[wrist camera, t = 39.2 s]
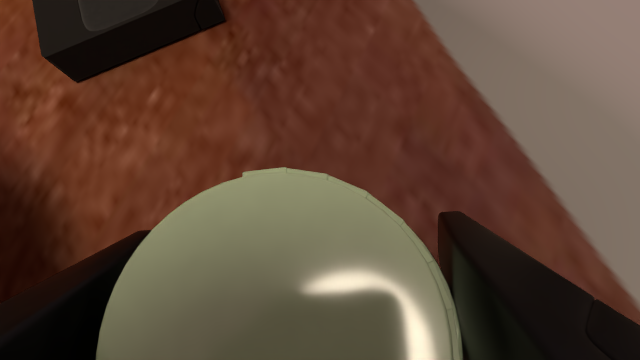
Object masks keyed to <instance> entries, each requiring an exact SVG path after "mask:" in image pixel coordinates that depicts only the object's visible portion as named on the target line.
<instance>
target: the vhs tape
mask: <svg viewBox="0 0 640 360" xmlns="http://www.w3.org/2000/svg"><path fill="white" fill-rule="evenodd" d="M32 1H33V7H34V13H35V19H36V25H37V31H38V37H39V43H40V49H41V54H42V56H43V57H44V58H45V59H47V60H48V61H49V62H50V63H52V64H53V65H54V66H56V67H57V68H58V69H59V70H61V71H62V72H63V73H65V74H66V75H67V76H68V77H70V78H71V79H72V80H74V81H79V80H81V79H84V78H86V77H89V76H91V75H93V74H96V73H98V72H101V71H103V70H105V69H108V68H110V67H113V66H115V65H117V64H120V63H122V62H125V61H127V60H129V59H132V58H134V57H137V56H139V55H141V54H144V53H146V52H149V51H151V50H153V49H156V48H158V47H161V46H163V45H165V44H168V43H170V42H173V41H175V40H177V39H180V38H182V37H185V36H187V35H189V34H192V33H194V32H197V31H199V30H200V28H199V25H198V24H200V27H201V28H202V29H204V28H207V27H209V26H211V25H214V24H216V23H219V22H221V21H223V20H225V18H224V15H223V12H222V10H221V7H220V4H219V2H218V0H32Z"/></svg>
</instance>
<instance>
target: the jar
mask: <svg viewBox="0 0 640 360" xmlns="http://www.w3.org/2000/svg"><path fill="white" fill-rule="evenodd" d="M96 360H463V346H462V337H461V331H460V326H459V322H458V317H457V313H456V308H455V304H454V300H453V297H452V294H451V291H450V289H449V286H448V283H447V281H446V279H445V277H444V275H443V273H442V271H441V269H440V267H439V265H438V263H437V262H436V260H435V259H434V257H433V256H432V254H431V253H430V251H429V250H428V248H427V247H426V245H425V244H424V243H423V242H422V241H421V239H420V238H419V237H418V236H417V235H416V234H415V233H414V231H413V230H412V229H411V228H410V227H409V226H408V225H407V224H406V223H405V222H404V220H403V219H401V218H400V217H399V216H398V215H396V214H395V213H394V212H392V211H391V210H390V209H389V208H387V207H386V206H385V205H383V204H382V203H381V202H380V201H378V200H377V199H376V198H374V197H373V196H372V195H371V194H369V193H368V192H367V191H365V190H362V189H360V188H358V187H355V186H353V185H351V184H348V183H346V182H344V181H341V180H339V179H336V178H334V177H332V176H329V175H328V174H324V173H317V172H310V171H303V170H296V169H289V168H286V167H283V168H274V169H265V170H257V171H248V172H243V177H241V178H238V179H234V180H231V181H228V182H224V183H221V184H219V185H217V186H214V187H212V188H210V189H208V190H205V191H203V192H201V193H200V194H198V195H196V196H194V197H193V198H191V199H189V200H188V201H186V202H184V203H183V204H182V205H180V206H179V207H178V208H176V209H175V210H174V211H172V212H171V213H170V214H168V215H167V216H166V217H165V218H164V219H163V220H162V221H161V222H160V223H159V224H158V225H157V226H156V227H155V228H153V229H152V231H151V232H150V233H149V234H148V235H147V236H146V238H145V239H144V240H143V241H142V242H141V244H140V245H139V246H138V247H137V249H136V250H135V252H134V253H133V255H132V256H131V258H130V259H129V261H128V262H127V264H126V265H125V267H124V269H123V271H122V273H121V275H120V276H119V278H118V280H117V282H116V284H115V286H114V289H113V291H112V294H111V296H110V299H109V301H108V304H107V306H106V310H105V313H104V317H103V320H102V324H101V328H100V332H99V338H98V345H97V351H96Z"/></svg>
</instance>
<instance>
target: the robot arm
mask: <svg viewBox="0 0 640 360" xmlns="http://www.w3.org/2000/svg"><path fill="white" fill-rule="evenodd" d="M151 231H152V230H143V231H138V232H135V233H134V234H132V235H130V236H128V237H126V238H124V239H122V240H120V241H118V242H116V243H115V244H113V245H111V246H109V247H107V248H105V249H103V250H101V251H99V252H97V253H95V254H94V255H92V256H90V257H88V258H86V259H84V260H82V261H80V262H78V263H76V264H75V265H73V266H71V267H69V268H67V269H65V270H63V271H61V272H59V273H57V274H56V275H54V276H52V277H50V278H48V279H46V280H44V281H42V282H40V283H38V284H36V285H35V286H33V287H31V288H29V289H27V290H25V291H23V292H21V293H19V294H17V295H16V296H14V297H12V298H10V299H8V300H6V301H4V302H2V303H0V360H96V351H97V345H98V338H99V332H100V328H101V324H102V320H103V317H104V313H105V310H106V306H107V304H108V301H109V299H110V296H111V294H112V291H113V289H114V286H115V284H116V282H117V280H118V278H119V276H120V275H121V273H122V271H123V269H124V267H125V265H126V264H127V262H128V261H129V259H130V258H131V256H132V255H133V253H134V252H135V250H136V249H137V247H138V246H139V245H140V244H141V242H142V241H143V240H144V239H145V238H146V236H147V235H148V234H149V233H150V232H151ZM438 254H439V261H440V266H441V271H442V273H443V275H444V277H445V279H446V281H447V283H448V286H449V289H450V291H451V294H452V297H453V300H454V304H455V308H456V313H457V317H458V322H459V326H460V331H461V337H462V346H463V360H640V325H638V324H636V323H635V322H633V321H632V320H630V319H628V318H627V317H625V316H623V315H622V314H620V313H618V312H617V311H615V310H614V309H612V308H611V307H609V306H608V305H606V304H604V303H603V302H601V301H600V300H594V297H593V296H592V295H590V294H588V293H587V292H585V291H584V290H582V289H581V288H579V287H577V286H576V285H574V284H573V283H571V282H570V281H568V280H567V279H565V278H563V277H562V276H560V275H559V274H557V273H556V272H554V271H552V270H551V269H549V268H548V267H546V266H545V265H543V264H542V263H540V262H538V261H537V260H535V259H534V258H532V257H531V256H529V255H527V254H526V253H524V252H523V251H521V250H520V249H518V248H516V247H515V246H513V245H512V244H510V243H509V242H507V241H506V240H504V239H502V238H501V237H499V236H498V235H496V234H495V233H493V232H491V231H490V230H488V229H487V228H485V227H484V226H482V225H480V224H479V223H477V222H476V221H474V220H473V219H471V218H470V217H468V216H466V215H465V214H463V213H462V212H459V211H453V212H441V213H440V214H439V216H438Z"/></svg>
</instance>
